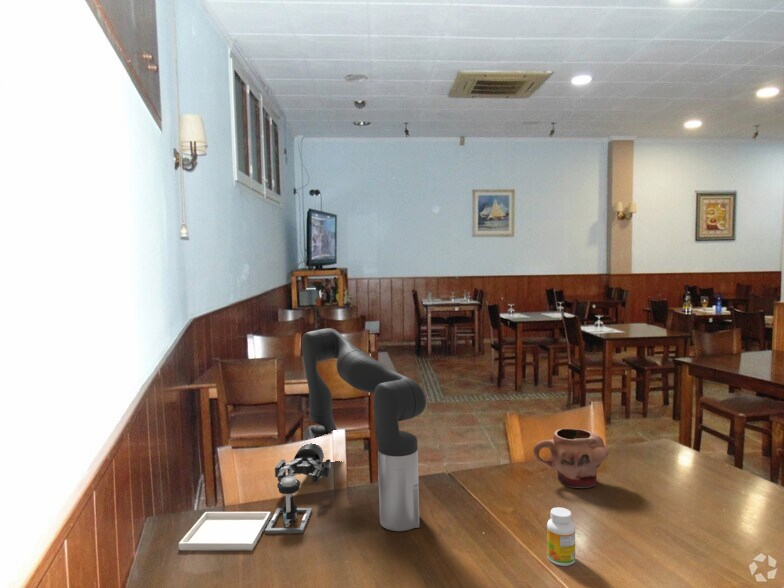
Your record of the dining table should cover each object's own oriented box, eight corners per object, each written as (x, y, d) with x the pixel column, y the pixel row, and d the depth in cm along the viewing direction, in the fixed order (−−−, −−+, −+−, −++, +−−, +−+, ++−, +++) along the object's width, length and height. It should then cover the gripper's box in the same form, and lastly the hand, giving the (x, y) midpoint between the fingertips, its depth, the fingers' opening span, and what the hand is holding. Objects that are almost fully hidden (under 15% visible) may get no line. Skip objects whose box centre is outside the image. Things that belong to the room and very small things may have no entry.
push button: (298, 529, 116) (296, 486, 116) (275, 529, 116) (273, 487, 116) (303, 514, 123) (301, 474, 122) (281, 515, 123) (279, 475, 122)
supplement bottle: (543, 552, 104) (542, 506, 104) (568, 550, 105) (568, 504, 104) (553, 567, 99) (553, 519, 99) (580, 565, 100) (579, 517, 99)
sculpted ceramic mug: (544, 495, 130) (543, 442, 130) (527, 476, 143) (526, 427, 142) (618, 490, 132) (618, 438, 131) (595, 471, 144) (595, 423, 144)
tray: (271, 517, 122) (270, 511, 122) (252, 550, 108) (252, 543, 108) (205, 518, 122) (205, 511, 122) (178, 550, 108) (178, 543, 108)
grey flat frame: (312, 511, 125) (311, 506, 125) (302, 533, 114) (302, 528, 114) (277, 511, 125) (277, 506, 125) (265, 533, 114) (264, 528, 114)
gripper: (285, 443, 144) (268, 465, 128) (335, 442, 144) (324, 464, 127) (286, 469, 145) (270, 494, 128) (335, 468, 144) (325, 494, 128)
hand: (297, 479), depth 128 cm, fingers open, 8 cm apart
